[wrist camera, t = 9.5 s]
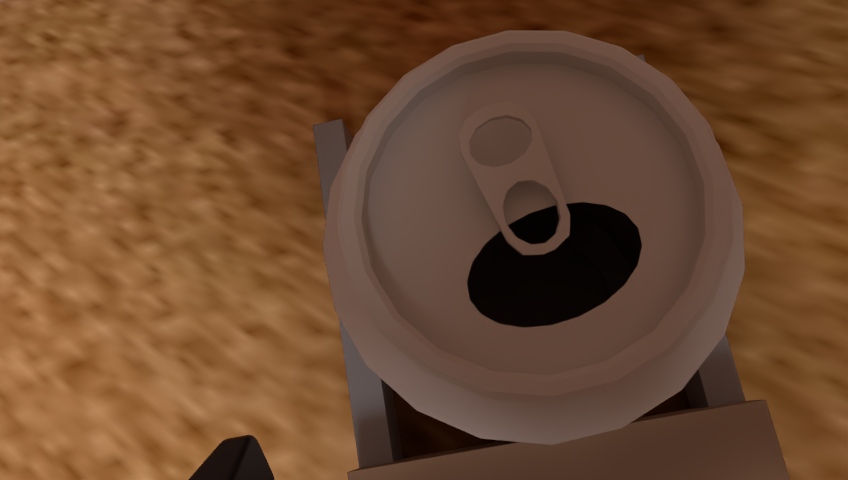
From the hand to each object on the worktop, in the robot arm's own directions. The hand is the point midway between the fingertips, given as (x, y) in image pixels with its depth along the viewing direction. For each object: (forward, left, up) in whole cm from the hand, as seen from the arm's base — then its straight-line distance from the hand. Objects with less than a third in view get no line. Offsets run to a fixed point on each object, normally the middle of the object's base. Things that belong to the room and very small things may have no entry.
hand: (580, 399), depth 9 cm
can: (+3, -2, -13) cm, 13 cm away
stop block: (-2, +1, -13) cm, 13 cm away
